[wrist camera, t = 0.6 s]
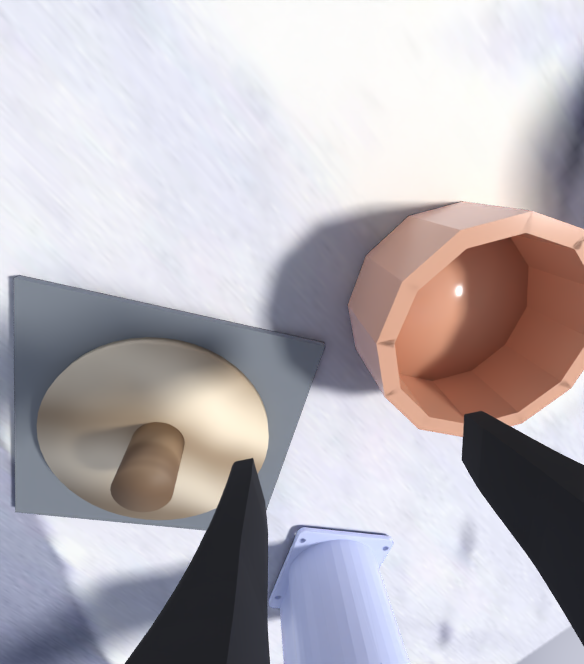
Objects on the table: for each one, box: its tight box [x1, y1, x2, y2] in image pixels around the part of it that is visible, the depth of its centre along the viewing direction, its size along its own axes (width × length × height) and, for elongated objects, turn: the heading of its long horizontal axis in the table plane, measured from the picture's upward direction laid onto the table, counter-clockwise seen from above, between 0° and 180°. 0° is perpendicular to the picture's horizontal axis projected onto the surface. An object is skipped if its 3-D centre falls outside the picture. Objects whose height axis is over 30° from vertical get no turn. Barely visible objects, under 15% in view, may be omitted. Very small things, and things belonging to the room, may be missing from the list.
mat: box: [14, 275, 325, 530], centre depth 22 cm, size 16×16×1 cm
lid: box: [37, 337, 269, 520], centre depth 20 cm, size 13×13×4 cm
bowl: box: [348, 201, 584, 437], centre depth 18 cm, size 11×11×5 cm
